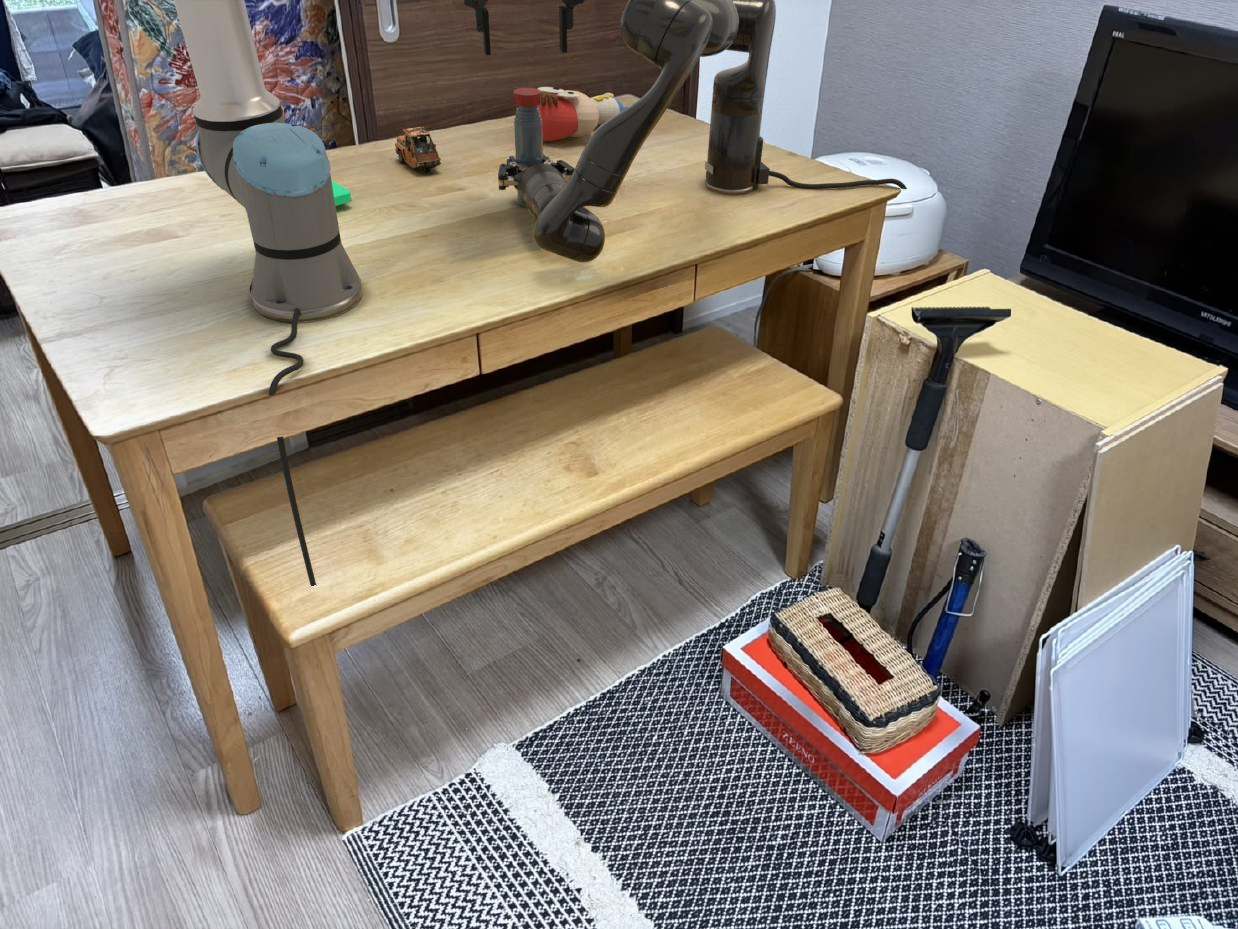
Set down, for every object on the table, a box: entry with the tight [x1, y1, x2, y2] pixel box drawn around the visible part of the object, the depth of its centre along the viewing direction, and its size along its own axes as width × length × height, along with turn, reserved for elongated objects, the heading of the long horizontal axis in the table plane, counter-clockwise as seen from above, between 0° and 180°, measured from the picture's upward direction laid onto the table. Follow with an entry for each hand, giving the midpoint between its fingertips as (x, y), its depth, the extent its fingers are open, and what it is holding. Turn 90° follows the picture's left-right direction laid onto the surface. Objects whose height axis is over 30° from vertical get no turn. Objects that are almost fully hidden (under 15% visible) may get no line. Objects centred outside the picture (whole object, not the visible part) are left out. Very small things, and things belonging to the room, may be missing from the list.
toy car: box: [394, 126, 442, 174], centre depth 178 cm, size 6×12×7 cm, turn 39°
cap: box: [512, 87, 542, 107], centre depth 156 cm, size 5×5×2 cm
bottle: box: [513, 106, 544, 208], centre depth 161 cm, size 5×5×19 cm
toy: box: [537, 86, 629, 142], centre depth 199 cm, size 18×10×30 cm
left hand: (525, 52), depth 152 cm, fingers open, 12 cm apart
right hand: (526, 160), depth 165 cm, fingers closed on bottle, 5 cm apart
